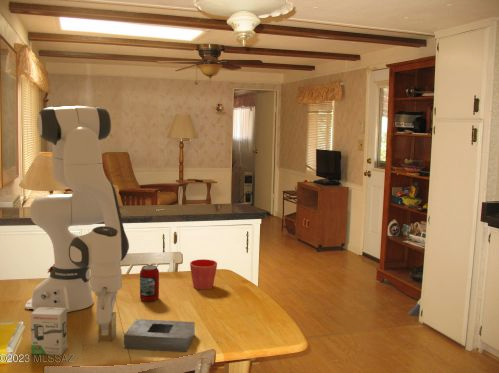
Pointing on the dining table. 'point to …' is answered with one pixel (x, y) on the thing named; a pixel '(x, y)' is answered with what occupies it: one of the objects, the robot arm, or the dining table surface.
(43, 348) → the ink box
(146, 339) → the jig
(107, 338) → the tilted wooden brick
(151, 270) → the beverage can
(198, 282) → the flower pot
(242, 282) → the dining table surface
